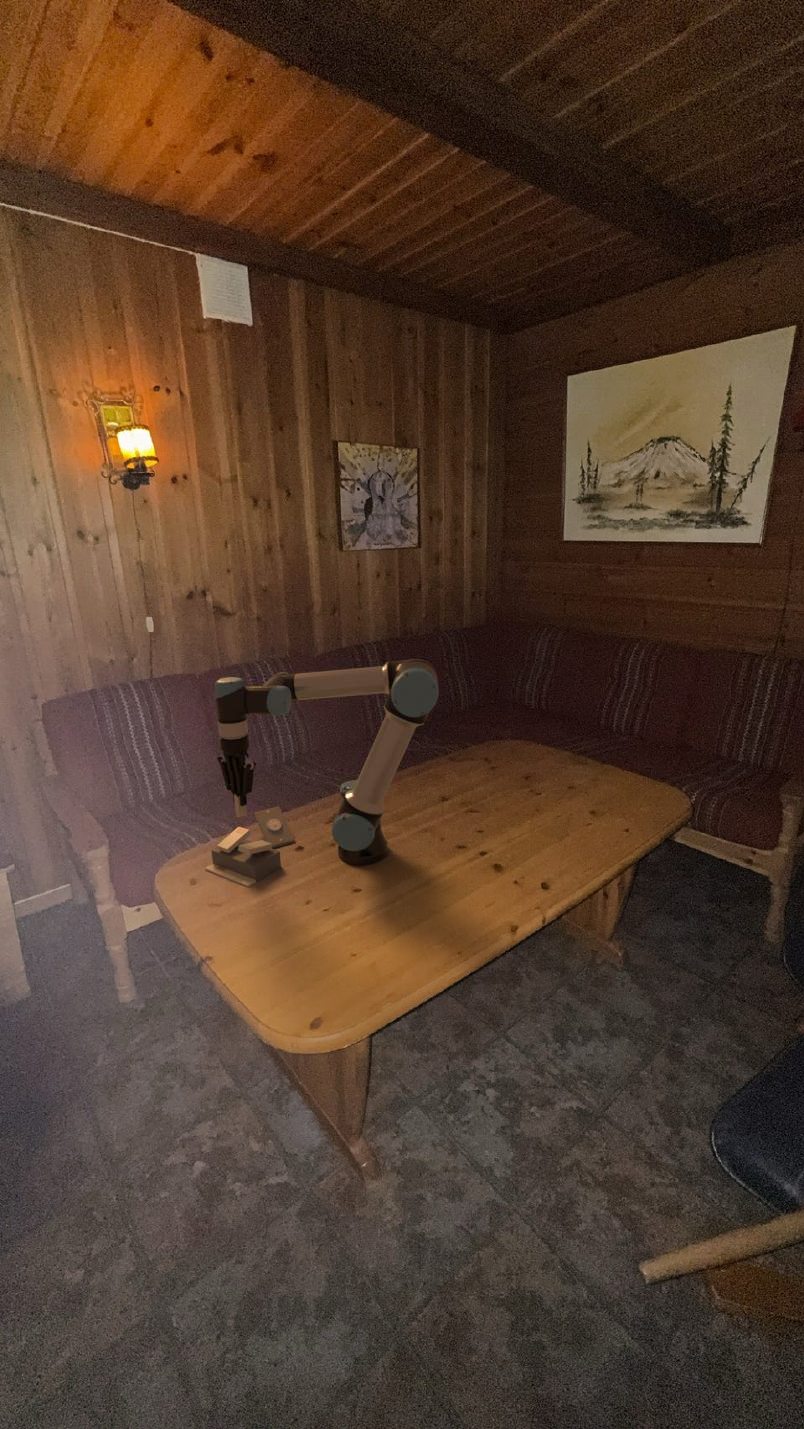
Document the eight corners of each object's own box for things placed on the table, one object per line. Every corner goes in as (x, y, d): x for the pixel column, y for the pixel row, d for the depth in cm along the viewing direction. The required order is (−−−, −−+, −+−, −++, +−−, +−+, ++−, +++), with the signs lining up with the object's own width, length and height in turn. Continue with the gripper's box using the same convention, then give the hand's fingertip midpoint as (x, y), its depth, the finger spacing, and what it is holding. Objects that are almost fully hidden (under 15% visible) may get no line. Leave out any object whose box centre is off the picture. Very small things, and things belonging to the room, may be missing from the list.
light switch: (269, 845, 193) (254, 810, 202) (267, 856, 197) (253, 821, 206) (295, 838, 197) (279, 804, 206) (293, 849, 201) (277, 815, 210)
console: (281, 866, 184) (279, 847, 182) (248, 887, 174) (246, 867, 172) (238, 851, 194) (236, 832, 192) (205, 869, 183) (202, 850, 181)
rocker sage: (271, 849, 183) (272, 843, 183) (249, 854, 175) (249, 848, 175) (261, 845, 185) (261, 839, 185) (238, 850, 178) (238, 845, 178)
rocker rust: (250, 834, 187) (248, 829, 187) (229, 853, 181) (227, 849, 180) (240, 830, 190) (238, 826, 189) (218, 849, 184) (217, 845, 183)
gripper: (261, 735, 167) (268, 815, 174) (227, 727, 174) (235, 805, 181) (240, 743, 161) (247, 825, 168) (206, 734, 168) (215, 814, 175)
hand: (241, 815), depth 174 cm, fingers closed
